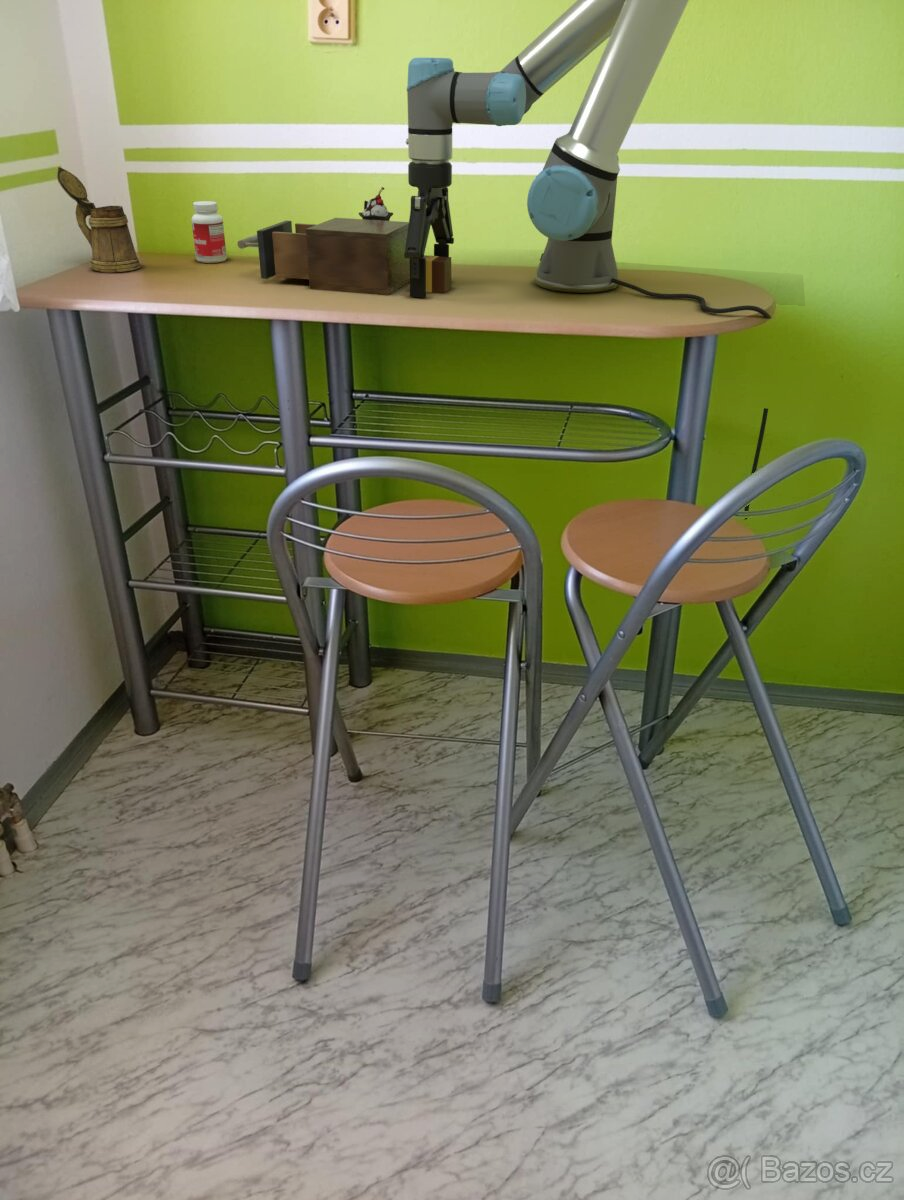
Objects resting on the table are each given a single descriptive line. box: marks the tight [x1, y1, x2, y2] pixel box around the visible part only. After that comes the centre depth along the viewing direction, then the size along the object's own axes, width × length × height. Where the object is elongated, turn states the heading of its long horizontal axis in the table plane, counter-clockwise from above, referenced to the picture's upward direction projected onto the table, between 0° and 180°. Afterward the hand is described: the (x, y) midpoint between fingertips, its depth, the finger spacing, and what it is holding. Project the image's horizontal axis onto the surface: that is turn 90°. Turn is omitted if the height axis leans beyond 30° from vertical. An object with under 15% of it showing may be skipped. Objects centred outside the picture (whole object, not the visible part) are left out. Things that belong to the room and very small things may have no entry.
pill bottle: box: [191, 200, 228, 264], centre depth 191 cm, size 6×6×11 cm
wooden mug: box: [56, 166, 142, 274], centre depth 182 cm, size 9×14×18 cm, turn 76°
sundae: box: [358, 186, 394, 221], centre depth 185 cm, size 7×7×15 cm
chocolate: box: [423, 254, 452, 294], centre depth 172 cm, size 6×4×6 cm, turn 73°
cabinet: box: [306, 217, 410, 296], centre depth 174 cm, size 15×13×10 cm
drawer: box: [236, 220, 317, 280], centre depth 177 cm, size 20×12×8 cm, turn 73°
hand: (429, 288), depth 173 cm, fingers open, 13 cm apart
